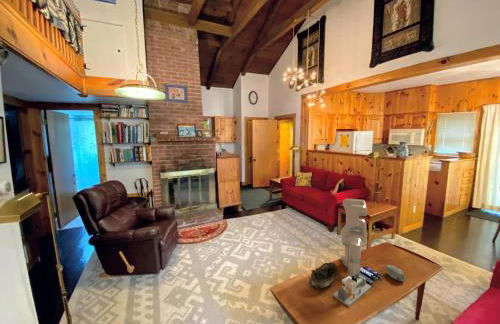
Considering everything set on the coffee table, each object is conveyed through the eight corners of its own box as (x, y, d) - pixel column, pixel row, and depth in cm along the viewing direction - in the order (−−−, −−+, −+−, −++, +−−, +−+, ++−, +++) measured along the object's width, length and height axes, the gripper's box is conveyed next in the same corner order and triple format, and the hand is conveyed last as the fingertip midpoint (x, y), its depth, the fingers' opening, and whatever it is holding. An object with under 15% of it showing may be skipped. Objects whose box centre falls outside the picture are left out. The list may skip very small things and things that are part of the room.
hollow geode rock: (335, 281, 167) (326, 262, 175) (345, 278, 158) (335, 258, 166) (309, 293, 155) (300, 272, 163) (318, 290, 146) (309, 268, 154)
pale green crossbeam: (341, 294, 143) (341, 291, 142) (360, 279, 157) (360, 277, 157) (344, 296, 141) (344, 293, 140) (363, 281, 155) (363, 278, 155)
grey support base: (333, 296, 146) (333, 286, 145) (355, 279, 162) (355, 270, 161) (349, 307, 136) (349, 297, 135) (371, 288, 152) (371, 278, 151)
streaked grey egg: (410, 278, 156) (403, 267, 157) (401, 286, 155) (394, 274, 155) (395, 271, 170) (389, 261, 170) (387, 278, 168) (380, 267, 169)
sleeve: (345, 290, 148) (345, 280, 147) (348, 287, 151) (349, 278, 150) (351, 294, 144) (351, 284, 143) (355, 291, 146) (355, 281, 145)
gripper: (355, 253, 154) (354, 275, 156) (343, 259, 146) (343, 283, 148) (365, 257, 148) (364, 280, 150) (354, 265, 140) (353, 289, 142)
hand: (354, 282), depth 149 cm, fingers closed
